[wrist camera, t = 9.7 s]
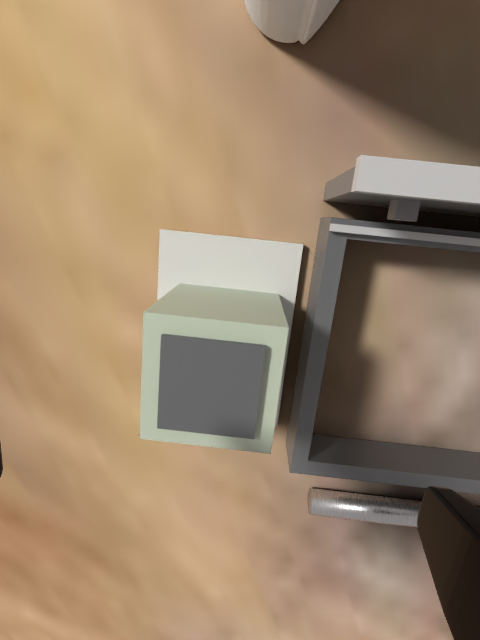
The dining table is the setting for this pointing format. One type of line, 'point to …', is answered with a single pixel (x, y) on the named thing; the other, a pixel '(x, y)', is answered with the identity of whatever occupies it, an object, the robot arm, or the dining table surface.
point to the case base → (302, 445)
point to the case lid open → (408, 187)
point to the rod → (363, 507)
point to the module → (212, 367)
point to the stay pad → (231, 268)
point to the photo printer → (289, 17)
